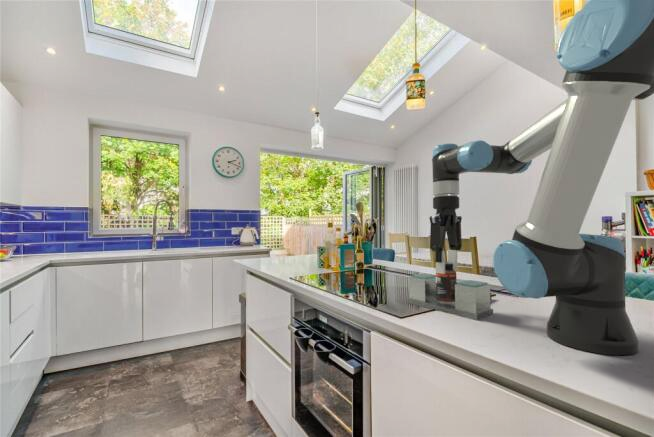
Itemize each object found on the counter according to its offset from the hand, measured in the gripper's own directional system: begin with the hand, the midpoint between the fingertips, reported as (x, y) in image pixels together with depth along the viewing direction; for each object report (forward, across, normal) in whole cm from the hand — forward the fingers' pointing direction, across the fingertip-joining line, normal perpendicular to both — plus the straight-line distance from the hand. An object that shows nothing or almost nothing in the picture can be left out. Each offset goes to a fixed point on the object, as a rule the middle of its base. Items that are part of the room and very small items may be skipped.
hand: (446, 272), depth 96 cm
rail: (+11, 0, 0) cm, 11 cm away
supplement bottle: (+9, 0, 0) cm, 9 cm away
